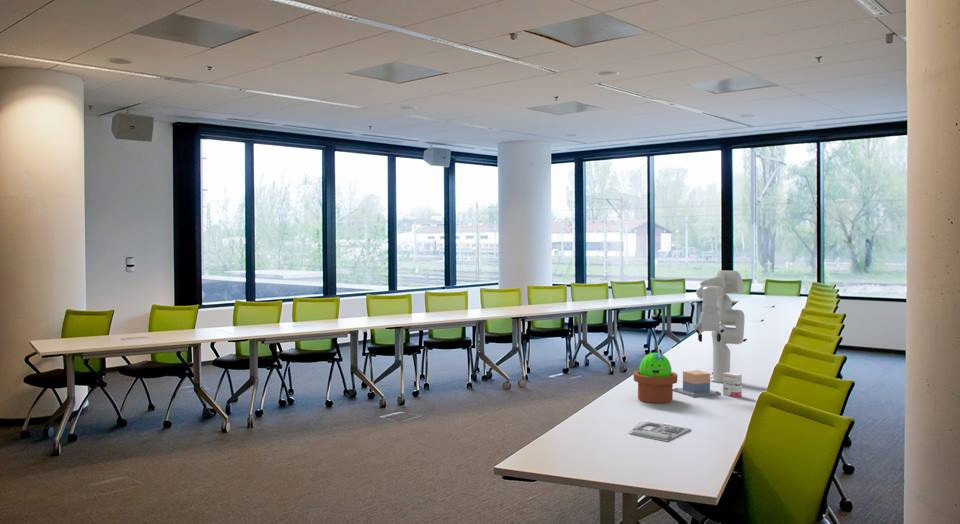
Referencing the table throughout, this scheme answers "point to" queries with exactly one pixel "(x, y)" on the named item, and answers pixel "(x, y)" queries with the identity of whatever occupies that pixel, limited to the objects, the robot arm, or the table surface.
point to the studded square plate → (696, 384)
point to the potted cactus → (655, 379)
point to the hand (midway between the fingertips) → (709, 341)
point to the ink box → (732, 384)
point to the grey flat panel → (660, 432)
